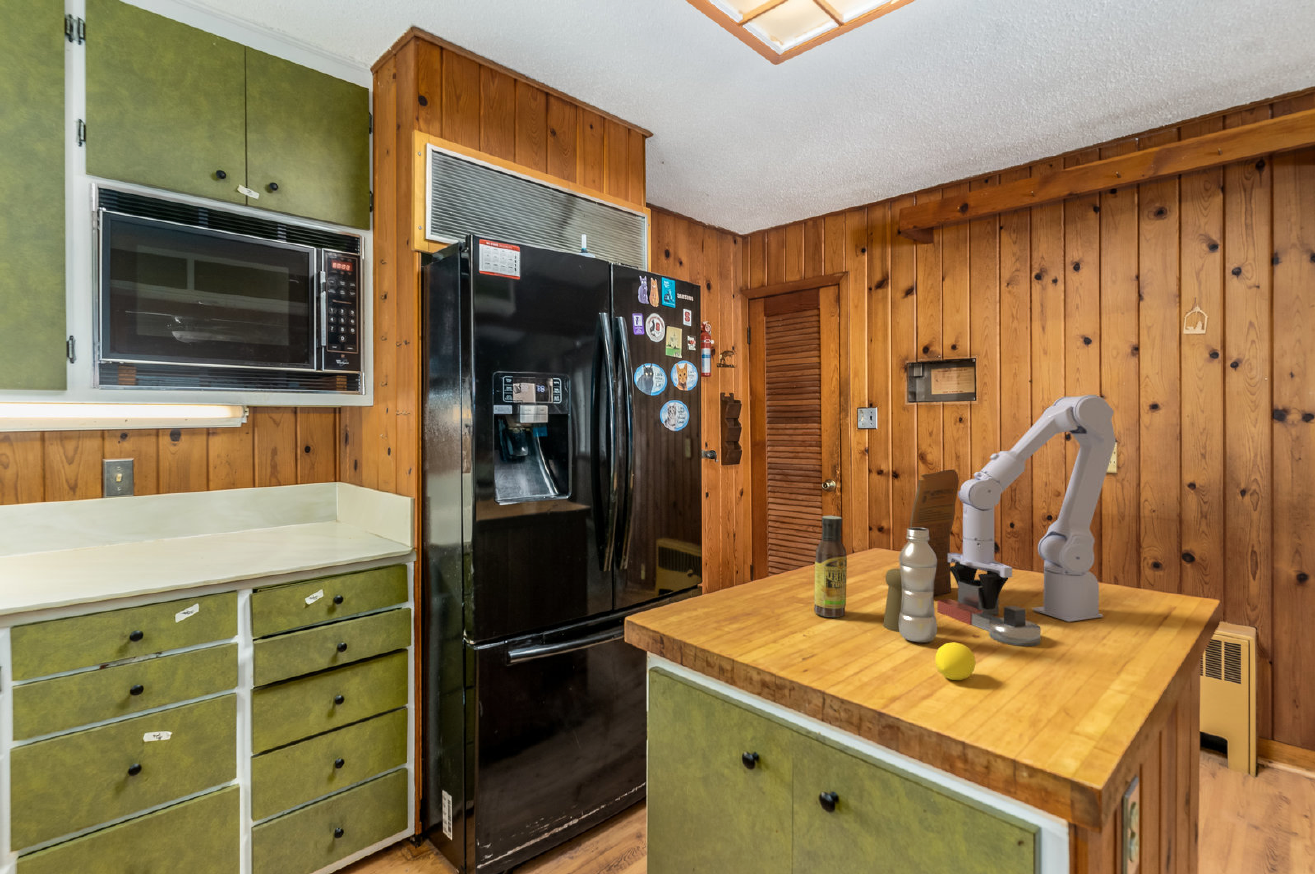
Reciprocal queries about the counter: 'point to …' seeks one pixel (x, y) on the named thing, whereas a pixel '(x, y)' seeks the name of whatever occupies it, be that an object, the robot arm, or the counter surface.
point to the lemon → (955, 661)
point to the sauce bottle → (830, 570)
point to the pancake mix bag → (937, 520)
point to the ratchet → (996, 622)
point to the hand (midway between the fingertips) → (978, 604)
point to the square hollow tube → (974, 596)
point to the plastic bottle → (917, 587)
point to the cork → (893, 600)
